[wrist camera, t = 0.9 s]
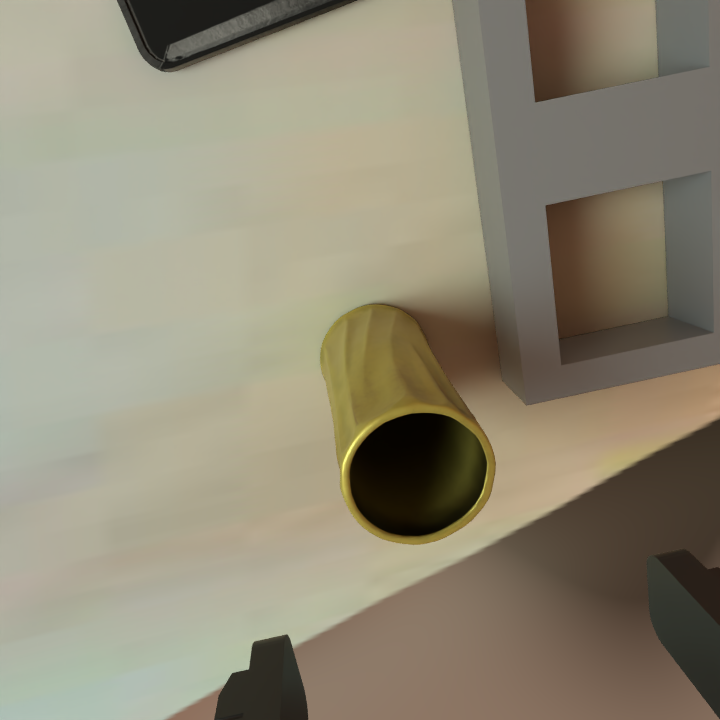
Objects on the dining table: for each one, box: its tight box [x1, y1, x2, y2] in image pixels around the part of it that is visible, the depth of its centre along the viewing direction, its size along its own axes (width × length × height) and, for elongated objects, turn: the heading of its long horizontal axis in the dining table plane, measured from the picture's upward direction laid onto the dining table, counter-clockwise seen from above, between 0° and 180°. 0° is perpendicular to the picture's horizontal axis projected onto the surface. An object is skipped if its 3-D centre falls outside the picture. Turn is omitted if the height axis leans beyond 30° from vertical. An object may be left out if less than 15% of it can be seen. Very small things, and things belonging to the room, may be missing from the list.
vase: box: [320, 304, 496, 545], centre depth 26 cm, size 6×6×14 cm
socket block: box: [452, 0, 720, 405], centre depth 28 cm, size 24×15×5 cm, turn 11°
